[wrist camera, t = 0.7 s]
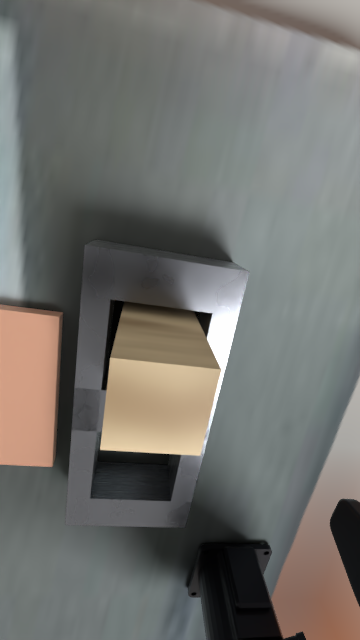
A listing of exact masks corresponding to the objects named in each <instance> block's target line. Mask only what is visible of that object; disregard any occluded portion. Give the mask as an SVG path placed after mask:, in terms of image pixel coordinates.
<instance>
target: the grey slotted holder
mask: <svg viewBox="0 0 360 640" xmlns="http://www.w3.org/2000/svg"><path fill="white" fill-rule="evenodd" d="M248 276H249V271H247V270H246V269H244V268H242V267H240V266H239V265H237V264H235V263H234V262H228V261H222V260H216V259H210V258H204V257H198V256H192V255H186V254H180V253H174V252H168V251H162V250H156V249H150V248H144V247H138V246H132V245H126V244H120V243H114V242H108V241H102V240H96V239H95V240H93V241H91V242H89V243H87V244H85V246H84V260H83V274H82V289H81V303H80V317H79V332H78V346H77V360H76V375H75V389H74V403H73V418H72V432H71V446H70V461H69V475H68V489H67V504H66V518H65V525H83V526H129V527H176V528H185V526H186V522H187V518H188V514H189V510H190V506H191V502H192V499H193V495H194V491H195V487H196V483H197V479H198V475H199V471H200V467H201V463H202V459H203V455H204V451H205V447H206V443H207V439H208V435H209V431H210V427H211V423H212V419H213V415H214V411H215V407H216V403H217V399H218V395H219V391H220V387H221V383H222V379H223V375H224V371H225V367H226V363H227V359H228V355H229V351H230V347H231V343H232V339H233V335H234V332H235V328H236V324H237V320H238V316H239V312H240V308H241V304H242V300H243V296H244V292H245V288H246V284H247V280H248ZM115 300H120V301H127V302H134V303H141V304H149V305H156V306H163V307H170V308H178V309H185V310H192V311H200V312H199V317H198V321H199V323H200V325H201V328H202V330H203V332H204V334H205V336H206V338H207V340H208V342H209V344H210V346H211V349H212V351H213V353H214V355H215V357H216V359H217V361H218V363H219V365H220V367H221V374H220V378H219V382H218V386H217V390H216V394H215V398H214V402H213V406H212V410H211V414H210V418H209V422H208V426H207V430H206V434H205V438H204V442H203V447H202V451H201V455H200V456H196V455H179V454H170V458H169V462H168V465H155V464H136V463H118V462H100V461H97V460H98V451H99V441H100V432H102V428H103V419H104V410H105V401H106V392H107V383H108V374H109V365H110V364H108V358H109V349H110V340H111V330H112V321H113V312H114V303H115Z"/></svg>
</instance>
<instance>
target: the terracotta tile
mask: <svg viewBox="0 0 360 640" xmlns="http://www.w3.org/2000/svg"><path fill="white" fill-rule="evenodd" d="M62 324H63V312H56V311H48V310H41V309H33V308H25V307H17V306H9V305H1V304H0V464H2V465H22V466H42V467H53V464H54V461H55V459H56V442H57V423H58V403H59V383H60V363H61V344H62Z"/></svg>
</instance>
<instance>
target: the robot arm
mask: <svg viewBox="0 0 360 640" xmlns="http://www.w3.org/2000/svg"><path fill="white" fill-rule="evenodd" d="M330 527H331V531H332V534H333V537H334V540H335V542H336V545H337V548H338V551H339V553H340V556H341V559H342V562H343V564H344V567H345V570H346V573H347V576H348V578H349V581H350V584H351V586H352V589H353V592H354V594H355V597H356V599H357V602H358V604H359V606H360V502H358V501H357V500H354V499H341V500H340V501H339V502H338V504H337V506H336V508H335V510H334V512H333V514H332V517H331V519H330ZM271 554H272V551H271V548H270V546H269V545H266V544H203V545H201V546H200V548H199V551H198V555H197V558H196V562H195V565H194V569H193V573H192V576H191V580H190V583H189V587H188V595H189V596H190V597H201V604H202V611H203V618H204V625H205V632H206V640H306V638H305V636H304V634H303V632H299V633H296V635H295V636H292V637H288V638H285V639H284V638H283V635H282V632H281V629H280V626H279V623H278V620H277V616H276V614H275V610H274V607H273V604H272V601H271V598H270V595H269V591H268V588H267V585H266V582H265V579H264V576H263V574H264V571H265V569H266V566H267V564H268V561H269V559H270V556H271Z"/></svg>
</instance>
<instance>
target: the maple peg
mask: <svg viewBox="0 0 360 640" xmlns="http://www.w3.org/2000/svg"><path fill="white" fill-rule="evenodd" d="M220 374H221V367H220V365H219V363H218V361H217V359H216V357H215V355H214V353H213V351H212V349H211V346H210V344H209V342H208V340H207V338H206V336H205V334H204V332H203V330H202V328H201V325H200V323H199V321H198V319H197V317H196V315H195V313H194V311H192V310H185V309H178V308H170V307H163V306H156V305H149V304H141V303H134V302H127V301H124V305H123V309H122V313H121V317H120V321H119V325H118V329H117V333H116V337H115V341H114V345H113V349H112V353H111V357H110V365H109V374H108V383H107V392H106V401H105V410H104V419H103V428H102V437H101V446H100V450H111V451H128V452H145V453H162V454H179V455H196V456H200V455H201V451H202V447H203V442H204V438H205V434H206V430H207V426H208V422H209V418H210V414H211V410H212V406H213V402H214V398H215V394H216V390H217V386H218V382H219V378H220Z"/></svg>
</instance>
